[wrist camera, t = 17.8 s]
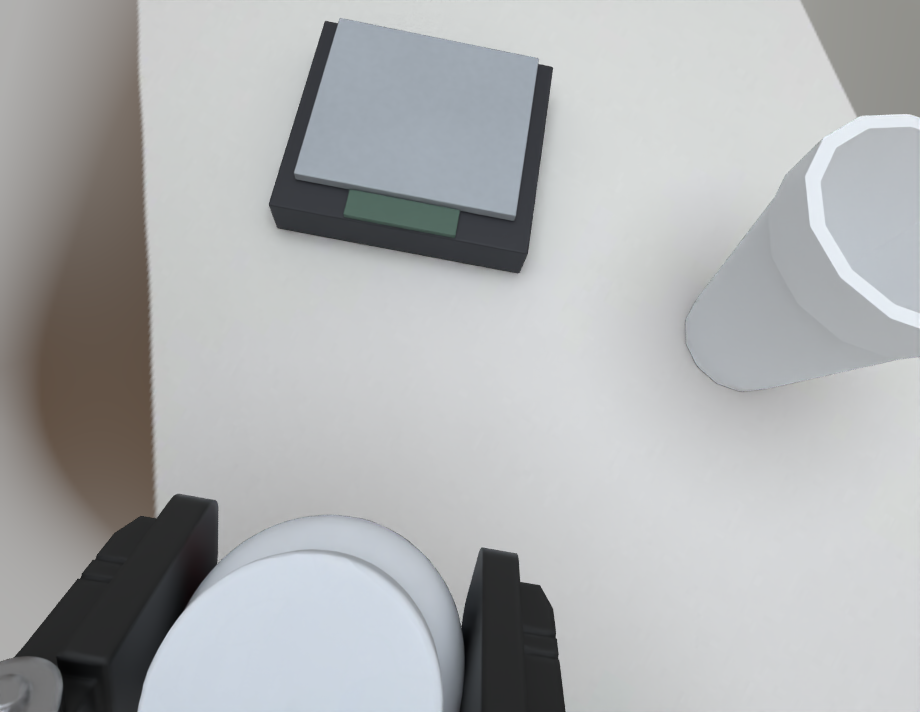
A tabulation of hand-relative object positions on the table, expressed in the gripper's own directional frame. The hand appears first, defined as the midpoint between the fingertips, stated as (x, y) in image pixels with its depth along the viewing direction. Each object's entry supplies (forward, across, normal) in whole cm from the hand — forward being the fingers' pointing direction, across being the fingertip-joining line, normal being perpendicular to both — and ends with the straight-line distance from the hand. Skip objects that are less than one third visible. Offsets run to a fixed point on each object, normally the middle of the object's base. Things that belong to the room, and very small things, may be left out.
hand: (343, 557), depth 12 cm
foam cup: (+23, -18, +2) cm, 29 cm away
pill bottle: (+3, 0, +5) cm, 6 cm away
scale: (+29, +2, -4) cm, 29 cm away
